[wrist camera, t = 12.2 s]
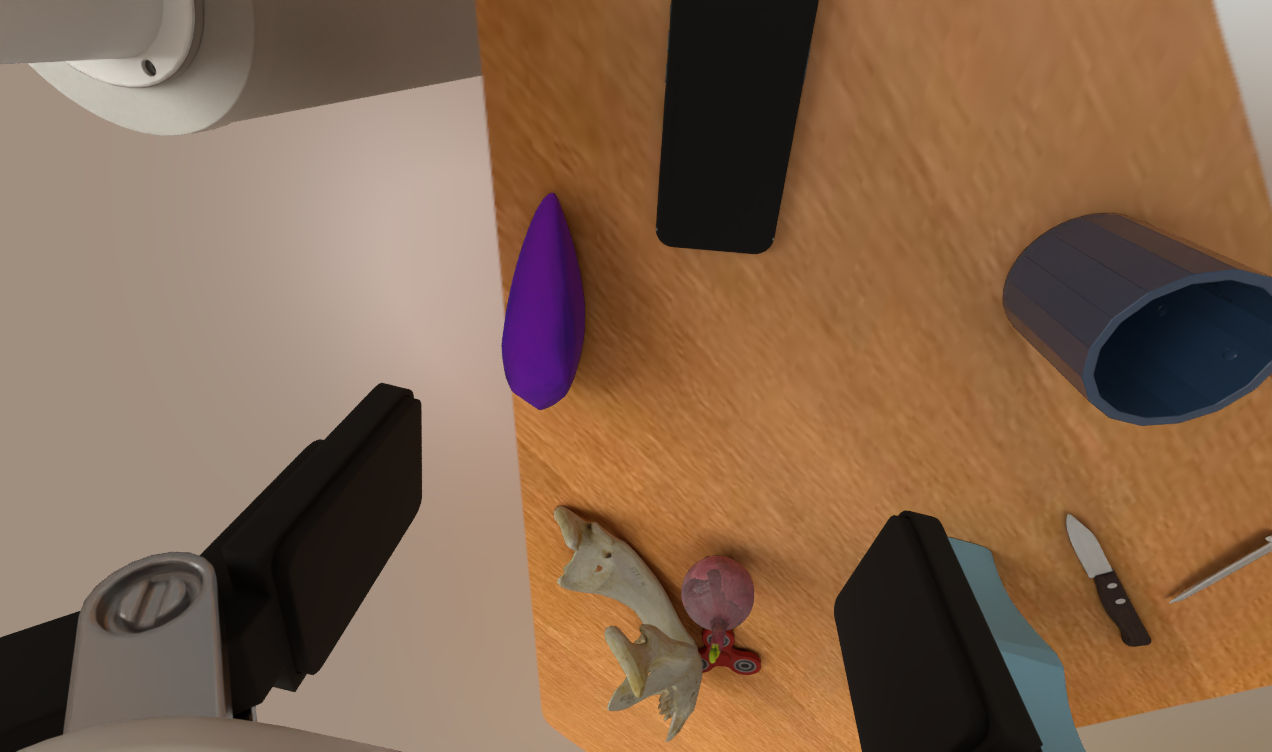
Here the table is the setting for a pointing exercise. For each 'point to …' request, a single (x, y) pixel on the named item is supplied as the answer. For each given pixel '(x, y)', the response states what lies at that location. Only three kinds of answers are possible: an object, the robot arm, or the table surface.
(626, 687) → the jawbone
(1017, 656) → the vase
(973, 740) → the robot arm
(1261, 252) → the table surface
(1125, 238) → the mug
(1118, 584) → the kitchen knife
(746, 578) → the vegetable
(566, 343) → the purple eggplant
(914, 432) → the table surface
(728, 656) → the fidget spinner
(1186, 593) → the knife
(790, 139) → the smartphone
